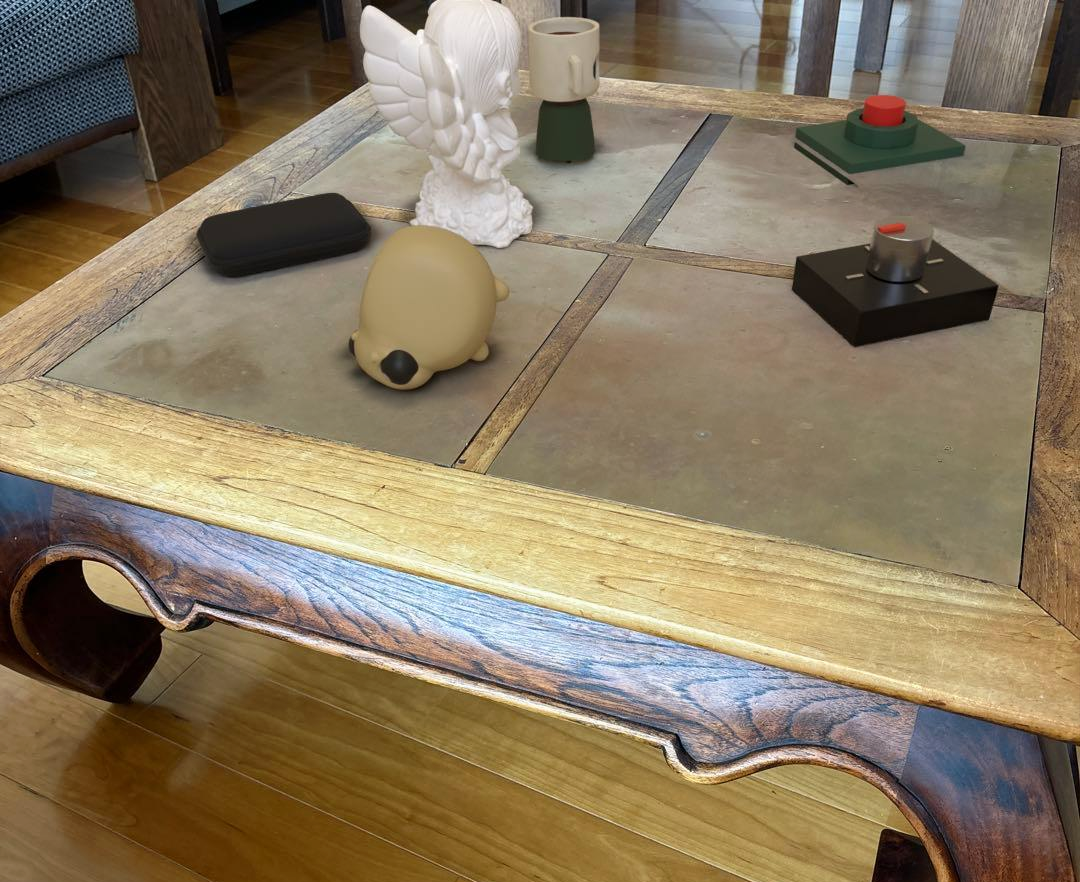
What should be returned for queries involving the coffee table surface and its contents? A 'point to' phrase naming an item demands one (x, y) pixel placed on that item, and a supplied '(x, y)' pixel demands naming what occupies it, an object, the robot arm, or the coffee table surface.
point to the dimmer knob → (899, 248)
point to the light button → (883, 110)
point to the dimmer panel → (892, 294)
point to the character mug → (564, 85)
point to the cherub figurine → (454, 111)
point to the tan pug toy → (425, 307)
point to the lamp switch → (875, 144)
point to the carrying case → (282, 234)
